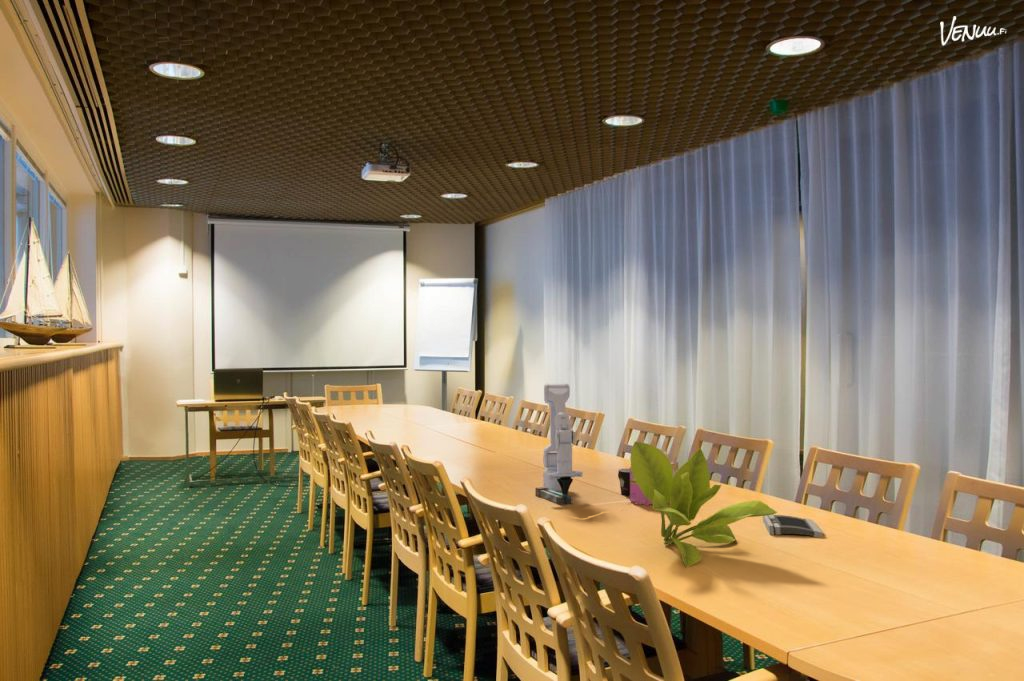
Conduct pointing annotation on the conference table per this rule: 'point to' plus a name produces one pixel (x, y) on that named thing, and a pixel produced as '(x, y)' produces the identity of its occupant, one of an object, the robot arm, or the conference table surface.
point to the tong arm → (566, 497)
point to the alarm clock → (791, 525)
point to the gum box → (637, 493)
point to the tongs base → (548, 495)
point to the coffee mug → (624, 481)
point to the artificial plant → (687, 498)
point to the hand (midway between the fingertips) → (564, 497)
